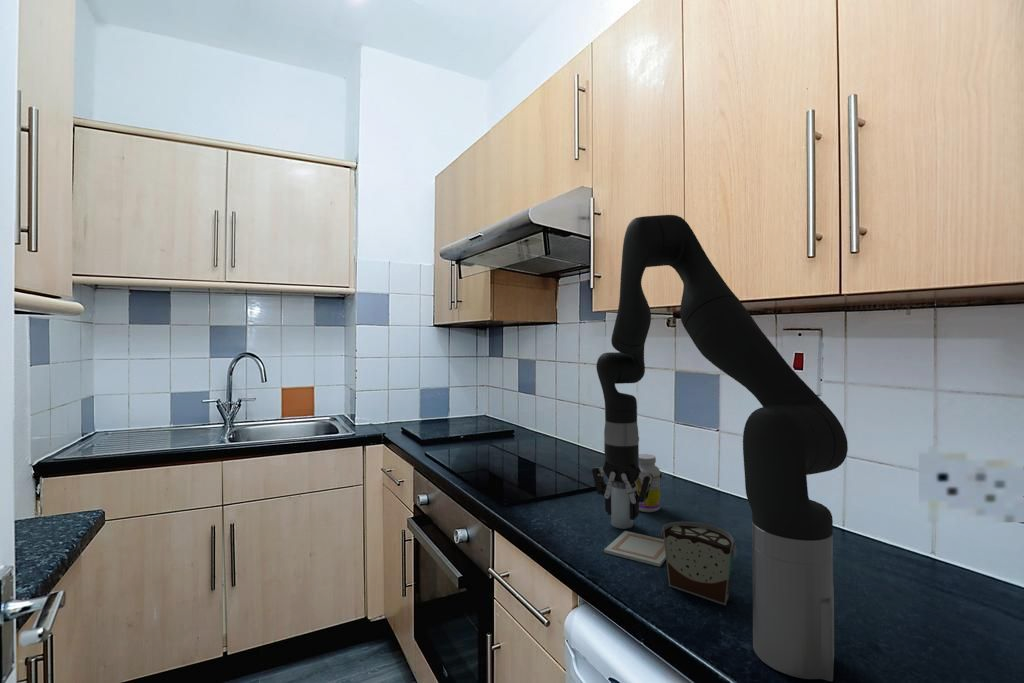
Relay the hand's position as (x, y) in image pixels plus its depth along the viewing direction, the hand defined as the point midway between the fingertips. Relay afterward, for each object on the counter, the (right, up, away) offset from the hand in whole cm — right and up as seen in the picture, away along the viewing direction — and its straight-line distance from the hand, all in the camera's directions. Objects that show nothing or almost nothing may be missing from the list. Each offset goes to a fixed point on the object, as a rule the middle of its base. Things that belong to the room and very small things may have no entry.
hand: (622, 516), depth 111 cm
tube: (0, -2, 0) cm, 2 cm away
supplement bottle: (+8, -2, +10) cm, 13 cm away
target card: (+1, -2, -13) cm, 13 cm away
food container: (+7, -2, -28) cm, 29 cm away
